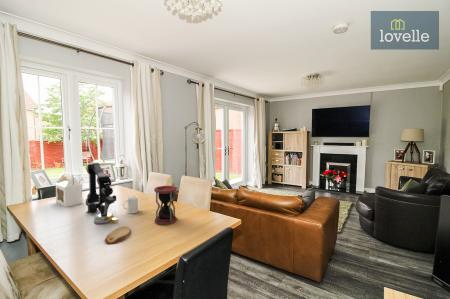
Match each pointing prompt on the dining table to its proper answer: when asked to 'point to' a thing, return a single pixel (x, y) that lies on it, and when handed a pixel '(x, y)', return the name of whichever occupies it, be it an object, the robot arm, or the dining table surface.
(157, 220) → the hourglass
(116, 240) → the slice of bread
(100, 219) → the rosette
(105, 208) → the wedge pin
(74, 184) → the gable box
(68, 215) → the dining table surface
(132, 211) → the mug
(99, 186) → the robot arm
